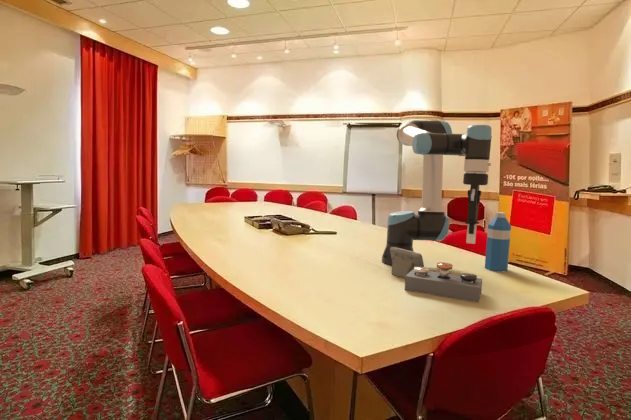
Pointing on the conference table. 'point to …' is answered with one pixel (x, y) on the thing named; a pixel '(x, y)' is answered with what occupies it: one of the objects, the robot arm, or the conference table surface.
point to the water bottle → (498, 243)
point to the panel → (444, 286)
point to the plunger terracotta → (444, 270)
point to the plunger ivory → (421, 270)
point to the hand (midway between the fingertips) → (470, 242)
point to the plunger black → (468, 277)
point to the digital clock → (404, 261)
